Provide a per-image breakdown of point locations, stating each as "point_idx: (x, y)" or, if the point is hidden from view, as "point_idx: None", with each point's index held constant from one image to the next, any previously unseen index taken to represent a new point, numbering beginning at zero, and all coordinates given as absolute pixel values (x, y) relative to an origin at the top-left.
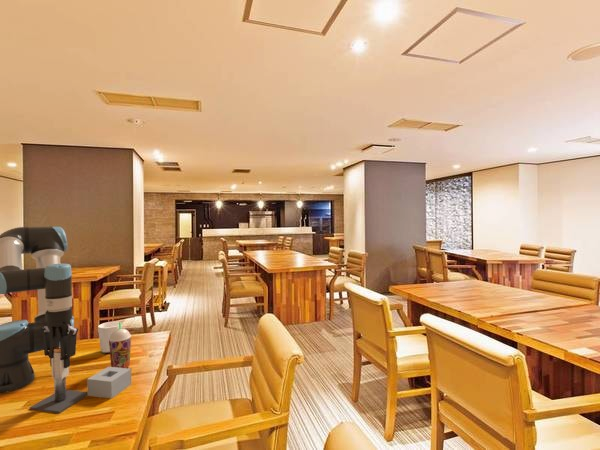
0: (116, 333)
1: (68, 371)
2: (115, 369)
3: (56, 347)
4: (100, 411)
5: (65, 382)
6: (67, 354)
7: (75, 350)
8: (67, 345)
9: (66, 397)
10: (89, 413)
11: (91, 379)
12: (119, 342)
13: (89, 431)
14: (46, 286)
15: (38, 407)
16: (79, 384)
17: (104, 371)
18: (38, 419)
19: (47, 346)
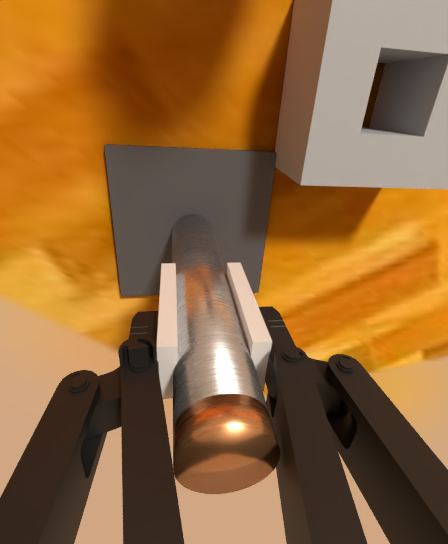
0: None
1: (244, 277)
2: (417, 14)
3: (185, 467)
4: (389, 253)
5: (219, 254)
6: (334, 425)
7: (381, 391)
8: (383, 521)
9: (202, 211)
10: (357, 269)
11: (328, 185)
12: None
13: (402, 330)
14: None
15: (156, 289)
16: (137, 57)
17: (351, 63)
18: None
19: (80, 510)
